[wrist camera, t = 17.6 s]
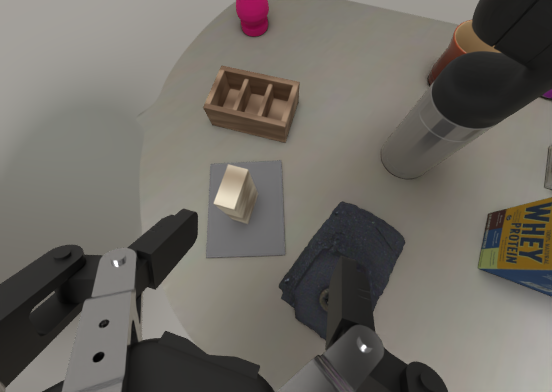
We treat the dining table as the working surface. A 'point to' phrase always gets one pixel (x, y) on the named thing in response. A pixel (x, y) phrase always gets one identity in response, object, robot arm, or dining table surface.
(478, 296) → the dining table surface
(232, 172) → the ash block
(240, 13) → the pepper mill
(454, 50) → the mug
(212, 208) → the rubber mat
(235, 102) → the walnut box
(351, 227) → the dark slate chunk
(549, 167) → the coffee box
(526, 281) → the protein box
